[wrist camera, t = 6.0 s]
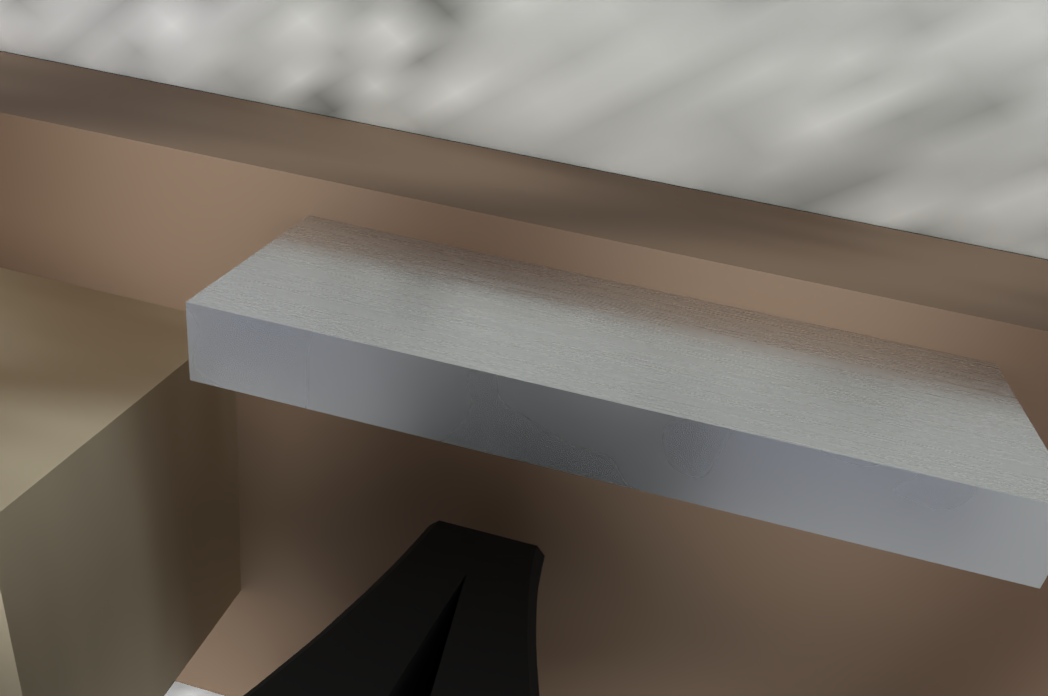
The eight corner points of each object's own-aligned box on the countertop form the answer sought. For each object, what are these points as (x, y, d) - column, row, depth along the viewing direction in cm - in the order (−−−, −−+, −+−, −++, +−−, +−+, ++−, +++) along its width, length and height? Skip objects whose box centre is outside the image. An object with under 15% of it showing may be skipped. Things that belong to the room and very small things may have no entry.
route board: (1277, 305, 10) (1425, 410, 8) (982, 778, 14) (1027, 931, 12) (-444, -38, 13) (-674, -29, 11) (-269, 435, 18) (-412, 508, 15)
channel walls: (995, 362, 9) (1083, 512, 6) (774, 836, 12) (785, 1029, 10) (309, 215, 10) (186, 302, 7) (299, 698, 13) (215, 849, 11)
